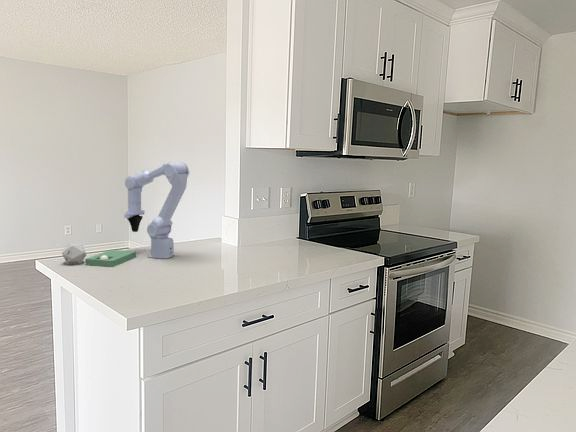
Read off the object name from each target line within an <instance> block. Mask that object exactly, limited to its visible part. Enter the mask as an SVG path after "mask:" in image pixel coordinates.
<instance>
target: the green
mask: <svg viewBox="0 0 576 432" xmlns="http://www.w3.org/2000/svg"><path fill="white" fill-rule="evenodd" d="M103 255H106V256H107V257H108V258H109V259H108V260H102V259H100V257H101V256H103ZM135 258H137V251H132V250H116V249H110V250H106V251H105V252H101V253H98V254H95V255H92V256H90V257H87V258H84V260H85V266H92V267H93V266H95V267H97V266H98V267H106V268H108V267H109V268H113V267H116V266H119V265H121V264H123V263H125V262H128V261H130V260H133V259H135Z"/></svg>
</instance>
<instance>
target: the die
mask: <svg viewBox="0 0 576 432" xmlns="http://www.w3.org/2000/svg"><path fill="white" fill-rule="evenodd" d="M64 247H65V248H64V249H63V250H62V252H61V254H62V256H63V258H64V260H65V263H66V265H81V264H82V262H83V261H84V260H85V259H86V258H85V257H87V252H86V250H85V248H84V245H83V244H82V243H67V244H66V246H64Z"/></svg>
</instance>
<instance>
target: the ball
mask: <svg viewBox="0 0 576 432" xmlns="http://www.w3.org/2000/svg"><path fill="white" fill-rule="evenodd" d="M100 259H102V260H108V259H109V258H108V257H107V256H106V255H103V256H101V257H100Z"/></svg>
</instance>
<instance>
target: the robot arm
mask: <svg viewBox="0 0 576 432" xmlns="http://www.w3.org/2000/svg"><path fill="white" fill-rule="evenodd" d="M189 175H190V170H189V167H188V165H187V164H186V163H185V162H167V163H163V164H162V165H160V166H158V167H157V168H154V169H153V170H146V169H143V170H142V171H141V172H140V173H135V174H134V175H133V176H131V175H128V176H127V177H126V178H125V180H124V184H125V185H124V186H125V188H127V211H125V213H124V219H127V220H128V222H129V225H130V228H131V231H132V232H133V233H136V232H138V231H139V229H140V228H139V227H140V224H141V221H142V220H143V215H145V210H144V209H142V192H143V188H144V186H146V185H148V184H150V183H152V182H153V181H155V180H154V179H156V178H159V177H161V176H165V177H166V179H167V180H168V182H169V184H170V185H171V188H170V191H169V192H168V194H167V197H166V199H165V201H164V203H163V204H162V205H163V206H162V207H161V209H160V211H159V213H158V215H157V216H156V217H154V218H153V219H152V221H151V222H150V223H149V224H148V225H147V228H146V232H147V234H148V236H149V238H150V253H151V254H149V255H148V256H147V258H152V259H153V258H154V259H166V260H168V259H169V258H172V257H174V256H175V254H174V252H175V250H174V249H175V246H174V244H175V243H174V239H173V238H172V237H169V234H170V233H171V232H172V227H173V224H174V223H173V221H172V220H171V219H172V218H173V215H174V213H175V212H176V209H177V207H178V206H179V203H180V201H181V199H182V197H183V195H184V193H185V191H186V189H187V184H188V182H187V181H188V178H189Z"/></svg>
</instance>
